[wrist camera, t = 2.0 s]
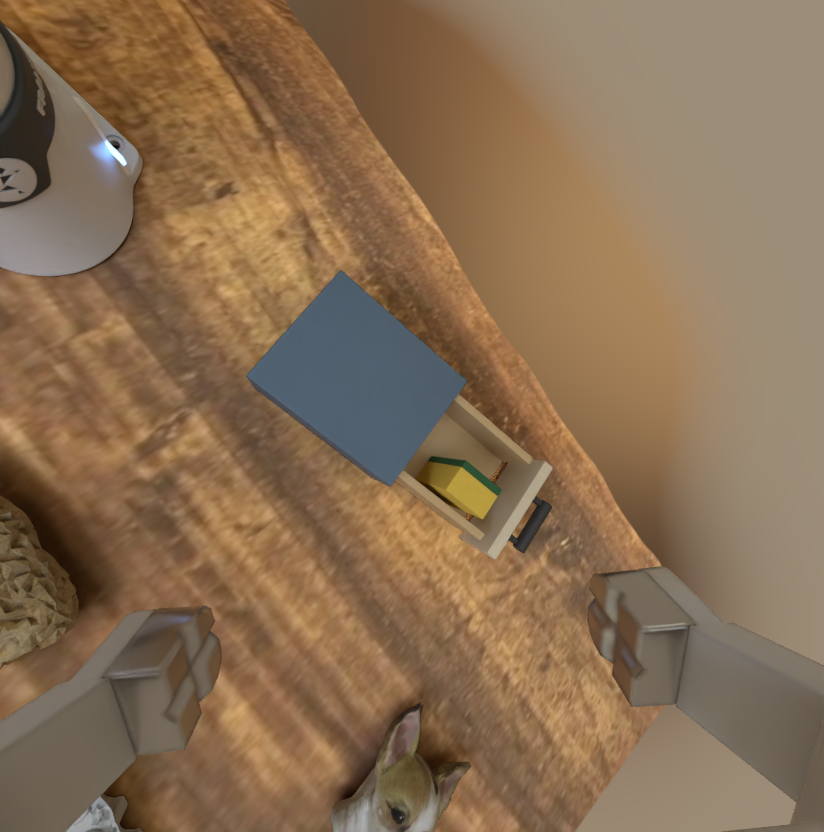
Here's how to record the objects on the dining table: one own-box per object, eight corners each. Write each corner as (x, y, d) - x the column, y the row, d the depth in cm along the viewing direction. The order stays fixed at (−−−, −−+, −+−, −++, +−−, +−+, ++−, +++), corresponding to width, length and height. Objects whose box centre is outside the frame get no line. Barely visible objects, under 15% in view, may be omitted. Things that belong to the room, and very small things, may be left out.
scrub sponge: (414, 479, 43) (445, 489, 34) (431, 455, 44) (465, 459, 35) (445, 503, 44) (483, 519, 35) (461, 480, 45) (502, 490, 36)
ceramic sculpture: (302, 894, 31) (441, 735, 36) (294, 802, 39) (409, 682, 44) (380, 979, 33) (504, 814, 38) (357, 873, 41) (461, 749, 46)
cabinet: (436, 391, 46) (467, 381, 38) (372, 478, 44) (390, 487, 36) (331, 300, 43) (340, 269, 35) (254, 388, 40) (245, 375, 32)
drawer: (542, 484, 49) (580, 491, 42) (493, 563, 46) (525, 583, 40) (428, 387, 45) (451, 379, 39) (368, 467, 43) (382, 472, 36)
